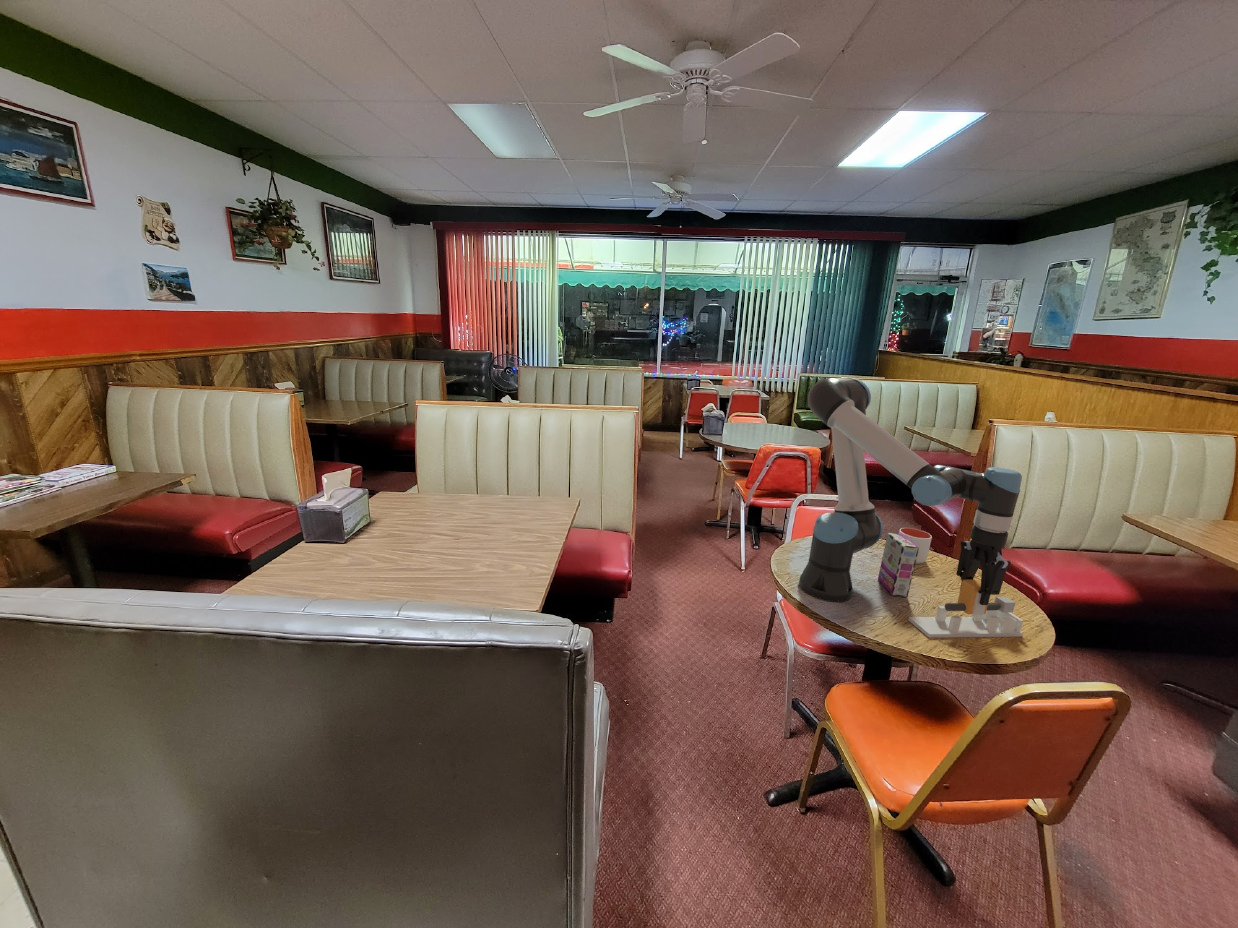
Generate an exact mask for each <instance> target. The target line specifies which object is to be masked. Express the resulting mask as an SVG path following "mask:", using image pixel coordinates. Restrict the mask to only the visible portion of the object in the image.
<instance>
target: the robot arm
mask: <svg viewBox="0 0 1238 928" xmlns="http://www.w3.org/2000/svg"><path fill="white" fill-rule="evenodd" d="M871 398H872V396H871V391H870V388H869V387H868V385H867V384H866V383H865V382H863V381H862V380H860V379H858V378H853V377H828V378H823V379H820V380H818V381H817V382H816V383H814V384H813V385H812V387H810V390H809V392H808V395H807V404H808V408H810V411H811V412H812V413H813V414H814V415H815V417H816V418H817V419H819V420H820V421H821V422H822V423H823V424H824V425H826V426H827V427H829V428H830V429H831V435H832V436H831V437H832V438H831V439H832V445H833V446H832V447H833V458H834V468H835V476H836V477H835V478H836V488H837V498H838V503H837V504H836V505H835V506H834V508H833V510H834V511H833V512H824V513H821V514H820V515H819V516H818V517H817V518H816V519H815V523H814V526H813V529H812V530H813V531H812V538H811V543H810V544H811V545H810V550H809V558H808V562H807V564H806V566H805V567H804V569H803V570H802V573H801V575H800V576H799V581H798V586H799V588H800V589H801V590H802V591H803V592H804V593H806V594H807V595H809V596H811V597H813V598H816V599H818V600H821V601H827V602H834V603H841V602H846V601H849V600H850V599H851V598H852V596H853V590H854V588H853V583H852V577H851V571H850V570H851V565H852V560H853V555H854V554H855V553H858V552H861V551H862V550H865V549H869V548H871V547H873V546H874V545H875V544H877V542H879V541H880V539H881V538H882V535H883V533H884V525H883V522H882V521H883V520H882V519H881V518H880V516H878V515H877V513H876V507H875V505H874V504H873V503H872V502H870V500H869V489H868V479H867V469H866V460H865V453H867V454H868V455H869V456H870V457H871V458H873V460H875V461H876V462H878V464H880V465H881V466H882V467H883V468H885V470H887V471H889V472H890V474H892V475H894V476H895V477H896V479H899V480H900V481H901V482H902V483H903V484H905V485H906V486H907V487H908V488H909V489H911V494H912V496H913V498H914V500H915V501H916V502H917V503H919V504H920V505H922V506H923V505H924V506H926V507H927V506H928V507H933V506H940V505H943V504H945V503H947V502H948V501H950V500H953V499H956V498H957V499H958V498H959V499H963V500H967V501H971V502H977V506H976V510H975V515H974V518H973V524H972V527H971V531H970V535H969V538H970V539H971V540H970V541H969V540H968V541H967V540H961V541H960V554H959V559H958V564H957V568H956V576H957V577H959V578H960V581H961V584H960V587H959V591H960V590H961V585H962V581H963V580H975V579H974V578H975V577H976V574H977V572H978V570H979V568H980V567H981V576H980V577H981V578H980V580H981V591H977V594H976V598H975V602H974V606H973V610H972V614H971V615H983V614H984V610H985V606H986V605H988V603H990V598H991V596H993V595H994V596H998V595H1000V593H1001V589H1002V586H1003V583H1004V580H1005V576H1006V573H1007V570H1008V568H1009V567H1011V565H1012V564H1011V561H1010V560H1006V559H1005V558H1004V557H1003V548H1004V547H1006V545H1007V541H1008V537H1009V533H1008V532H1009V531H1010V528H1011V525H1012V521H1013V517H1014V514H1015V509H1016V506H1017V502H1018V499H1019V496H1020V493H1021V485H1022V480H1023V479H1022V478H1023V476H1022V474H1021V473H1020V472H1019V471H1016V470H1013V469H1010V468H1005V467H997V466H996V467H995V466H992V467H991V466H990V467H987V468H986V469H985V471H984V472H982V473H981V472H976V471H972V470H967V469H962V468H958V467H953V466H952V465H951V466H950V465H947V466H946V465H942V464H936V465H934V466H932V465H931V464H930V463H929V462H928V461H926V460H925V459H924V458H922V457H921V456H920V455H919V454H917V453H916V452H914V451H913V450H912V449H910V447H908V446H907V445H906V444H904V443H903V442H902V441H900V440H899V439H897V438H896V437H895V436H893V435H892V434H891V433H889V431H887V430H886V429H884V428H883V427H881V426H880V425H879V424H878V423H877V422H875V421H874V420H872V419H871V418H870V417H869V416H868V415H867V411H866V410H867V409H868V407H869V406H870V404H871V401H872V400H871Z"/></svg>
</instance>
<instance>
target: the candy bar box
mask: <svg viewBox="0 0 1238 928" xmlns="http://www.w3.org/2000/svg"><path fill="white" fill-rule="evenodd" d="M918 550H919V547H917V546H916V545H915V544H914V543H912V542H911V541H910V540H909V539H908V538H906V537H905V536H904V535H903V534H899V533H892V532H887V535H886V539H885V544H884V549H883V554H882V557H881V558H882V559H881V563H880V568H879V572H878V577H877V579H878V581H879V582H880V584H882V585H883V587H884V588H885V589H886V590H887V591H888V592H889V594H891V596H894V597H904V598H908V597H909V593H910V588H911V584H912V580H913V579H912V578H913V577H914V575H913V574H914V571H915V567H916V564H915V563H916V559H917V555H918Z"/></svg>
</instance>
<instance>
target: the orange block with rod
mask: <svg viewBox="0 0 1238 928" xmlns="http://www.w3.org/2000/svg"><path fill="white" fill-rule="evenodd" d="M961 583H962V585H961V584H960V587H961V590H960V589H959V591H960V592H959V594H958V599H957V602H954V603H953V602H950V603H949V602H947V603H945V604H944V606H945V609H946V610H947V611H948V612H964V613H966V614H967V615H973V614H972V610H973V606H974V602H975V598H976V594H977V591H981V579H974V580H963V581H962V580H961ZM1015 606H1016V602H1015V601H1014V600H1012V599H1011V598H1009V597H1007V596H995V599H994V602H989V603H988V605H986V606H985V610H984V614H986V610H999V611H1001V612H1002V613H1012V614H1014V610H1015Z"/></svg>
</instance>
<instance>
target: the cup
mask: <svg viewBox="0 0 1238 928" xmlns="http://www.w3.org/2000/svg"><path fill="white" fill-rule="evenodd" d="M898 531H899V532H898V534H903V535H904V536H905V537H906V538H908V539H909V540H910V541H911V542H912V543H914V544H915V545H916V546H917V547H919V550H918V555H917V559H916V563H915V565H916V564H917V565H918V564H924V563H926V562H927V560H928V556H929V552H930V551H929V550H930V546H931V542H932V539H933V537H932V535H931V534H930V533H929V532H926V531H924V530H920V529H919V528H918V529H917V528H911V527H901V528H900V529H899V530H898Z"/></svg>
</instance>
